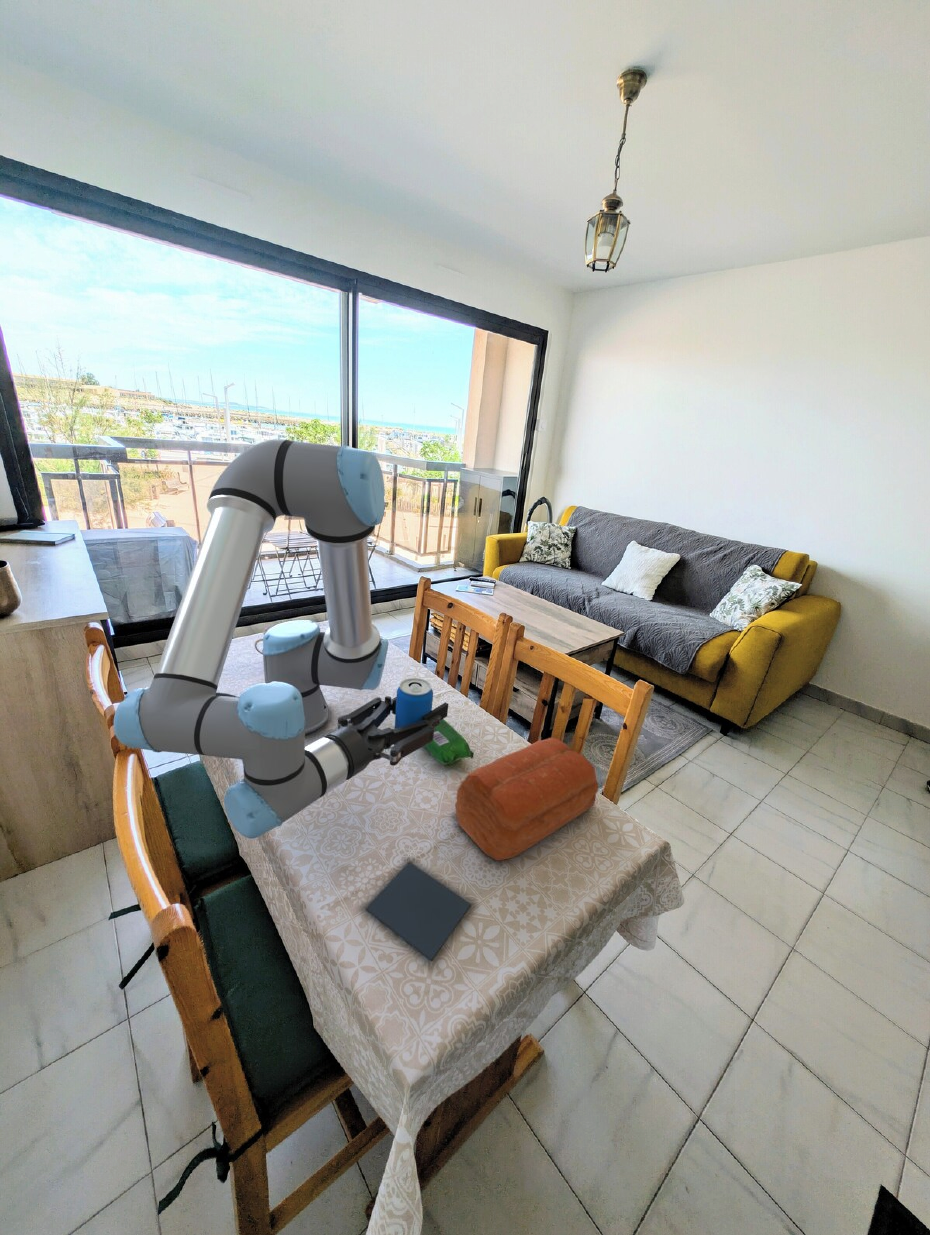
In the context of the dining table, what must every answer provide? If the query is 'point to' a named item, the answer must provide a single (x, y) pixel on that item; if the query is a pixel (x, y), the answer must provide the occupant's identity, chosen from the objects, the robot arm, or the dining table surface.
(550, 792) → the bread
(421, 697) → the beverage can
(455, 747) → the snack package
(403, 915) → the slate mat
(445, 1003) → the dining table surface
